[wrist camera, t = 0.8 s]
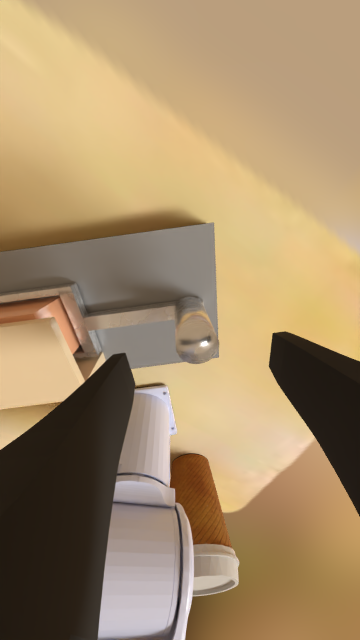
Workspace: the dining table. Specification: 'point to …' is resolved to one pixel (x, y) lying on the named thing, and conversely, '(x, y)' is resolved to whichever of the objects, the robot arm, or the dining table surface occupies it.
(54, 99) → the dining table surface
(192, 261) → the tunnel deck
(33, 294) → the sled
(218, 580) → the disposable coffee cup
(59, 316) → the terracotta block
